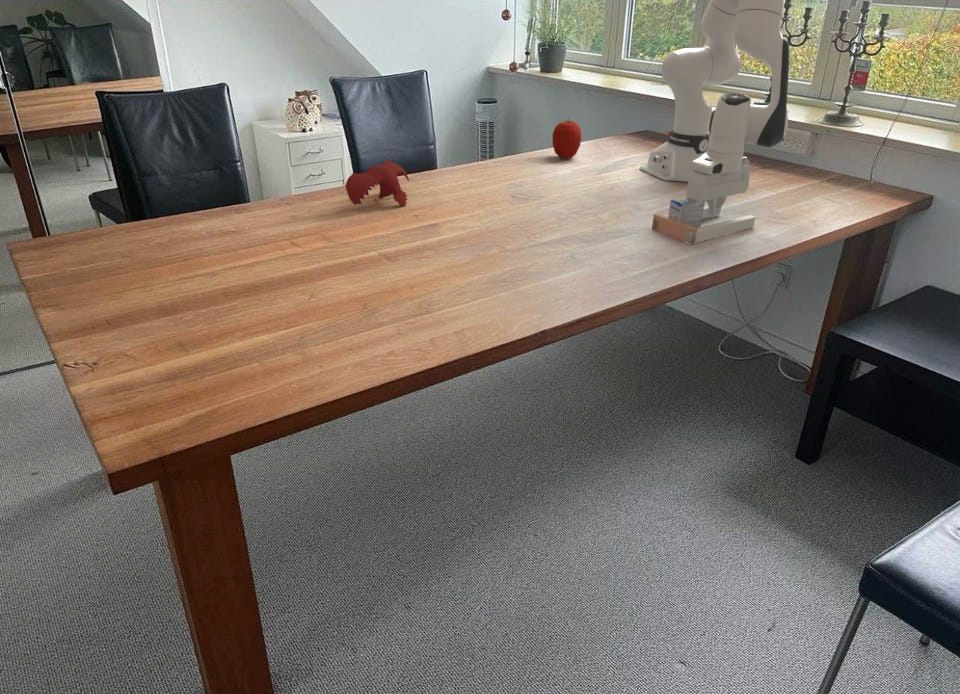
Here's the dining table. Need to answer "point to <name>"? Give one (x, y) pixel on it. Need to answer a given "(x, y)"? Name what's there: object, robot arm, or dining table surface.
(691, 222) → the medicine box
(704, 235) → the shallow open rectangular tray
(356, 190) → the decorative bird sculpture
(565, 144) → the apple
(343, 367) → the dining table surface
